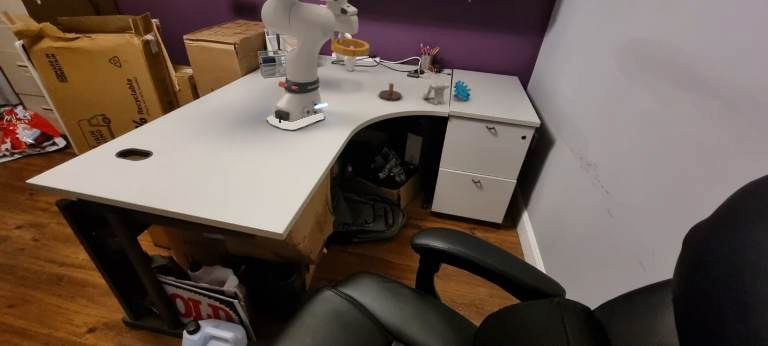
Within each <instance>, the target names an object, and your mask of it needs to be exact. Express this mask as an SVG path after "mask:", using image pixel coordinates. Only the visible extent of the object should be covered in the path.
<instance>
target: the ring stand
mask: <svg viewBox="0 0 768 346" xmlns="http://www.w3.org/2000/svg"><path fill="white" fill-rule="evenodd" d="M394 85H395V84H394V83H393V82H390V83H388V89H385V90H384V89H383V90H381V91H380V92H379V98H380V99H382V100H384V101H388V102H397V101H400V100H401V99H402V93H401V92H399V91H396V90H394Z"/></svg>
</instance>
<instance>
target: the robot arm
mask: <svg viewBox="0 0 768 346" xmlns="http://www.w3.org/2000/svg"><path fill="white" fill-rule="evenodd" d="M320 1H322V2H325V4H315V3H310V2H302V1H299V0H266V1H265V2H264V4H263V5H262V8H261V11H260V12H261V15H260V17H261V21H262V24H263V26H264V27H265V28H266V29H267V30H268V31H270V32H273V33H274V34H277V35H280V36H284V37H291V38H295V39H296V40H297V42H296V47H294V48H292V49H290V50H288V52H287V53H286V55H285V57H284V63H285V71H286V72H285V73H286V76H285V80H284V81H283V80H280V81H278V87H280V88H283V90H282V92H281V93H280V94H279V96H278V97H277V98H276V100H275V101H274V102H273V104H272V107H271V111H272V114H271V115H273V117H275V118H276V119H279V123H281V120H283V121H288V122H294V121H297V120H300V119H303V118H306V117H309V116H312V115H316V114H319V113H323V114H325V113H324V109H323V107H326V106H327V107H328V103H322V102H323V101H322V96H321V94H320V93H321V92H320V90H319V89H320V78H319V76H318V72H319V71H318V64H319V63H318V62H319V61H318V60H319V54H320V51H321V49H322V47H323V46H324V44H325V43H327V41H329V40H330V39H331V41H332V40H333V39H337V38H338V37H337V36H336V35H335V32H340V34H341V35H340V37H339V38H338V42H343V38H345V36H344V35H345V33H348V34H350V35H351V36H352V35H356V34H357V33H359V17H358V16H357V14H358V8H356V7H354V6H353V5H351V4H350V3H348V0H320Z"/></svg>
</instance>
